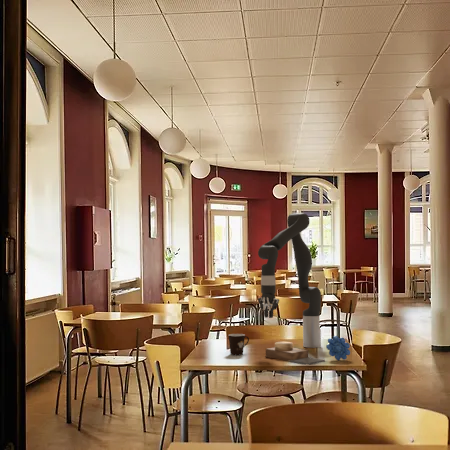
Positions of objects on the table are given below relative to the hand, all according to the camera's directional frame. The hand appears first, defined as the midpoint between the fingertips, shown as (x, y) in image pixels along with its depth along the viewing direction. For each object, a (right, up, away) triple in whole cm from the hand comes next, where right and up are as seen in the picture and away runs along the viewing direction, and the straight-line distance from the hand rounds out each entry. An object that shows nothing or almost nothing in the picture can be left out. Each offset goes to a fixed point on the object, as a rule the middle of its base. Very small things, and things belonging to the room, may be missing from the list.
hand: (268, 317), depth 328 cm
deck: (+9, -19, -10) cm, 23 cm away
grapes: (+33, -18, -19) cm, 42 cm away
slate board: (+17, -18, -22) cm, 33 cm away
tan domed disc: (+7, -15, -8) cm, 18 cm away
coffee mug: (-15, -19, +1) cm, 25 cm away
